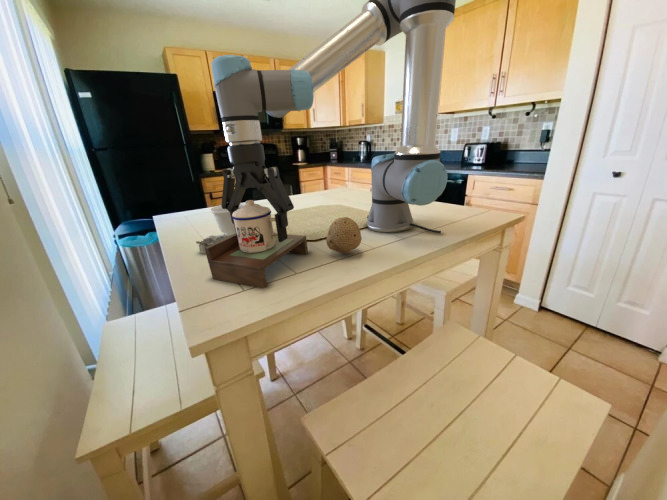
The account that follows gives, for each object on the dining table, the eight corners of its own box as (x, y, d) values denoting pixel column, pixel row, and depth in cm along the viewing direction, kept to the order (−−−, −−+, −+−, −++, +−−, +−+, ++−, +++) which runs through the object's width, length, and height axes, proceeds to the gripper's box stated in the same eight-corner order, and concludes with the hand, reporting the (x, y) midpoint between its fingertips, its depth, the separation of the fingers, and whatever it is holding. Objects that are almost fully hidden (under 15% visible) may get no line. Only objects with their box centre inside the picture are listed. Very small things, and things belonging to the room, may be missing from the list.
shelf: (308, 252, 75) (304, 225, 72) (264, 288, 59) (257, 254, 55) (264, 247, 81) (259, 222, 78) (212, 278, 64) (204, 247, 61)
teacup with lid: (232, 253, 65) (221, 205, 60) (249, 240, 73) (240, 197, 68) (280, 254, 62) (272, 204, 58) (292, 240, 71) (286, 195, 66)
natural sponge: (369, 252, 72) (369, 216, 68) (345, 263, 67) (343, 225, 63) (346, 244, 79) (344, 211, 75) (322, 254, 73) (319, 218, 70)
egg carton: (197, 255, 80) (193, 242, 78) (208, 245, 87) (204, 233, 85) (233, 252, 79) (230, 239, 78) (241, 243, 86) (238, 230, 85)
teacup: (255, 239, 88) (250, 209, 85) (210, 242, 89) (203, 212, 85) (264, 228, 100) (260, 201, 96) (224, 230, 100) (218, 204, 96)
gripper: (190, 147, 60) (213, 239, 68) (282, 140, 51) (296, 248, 59) (216, 145, 66) (234, 230, 74) (302, 139, 57) (312, 236, 65)
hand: (261, 238), depth 67 cm, fingers closed on teacup with lid, 12 cm apart
